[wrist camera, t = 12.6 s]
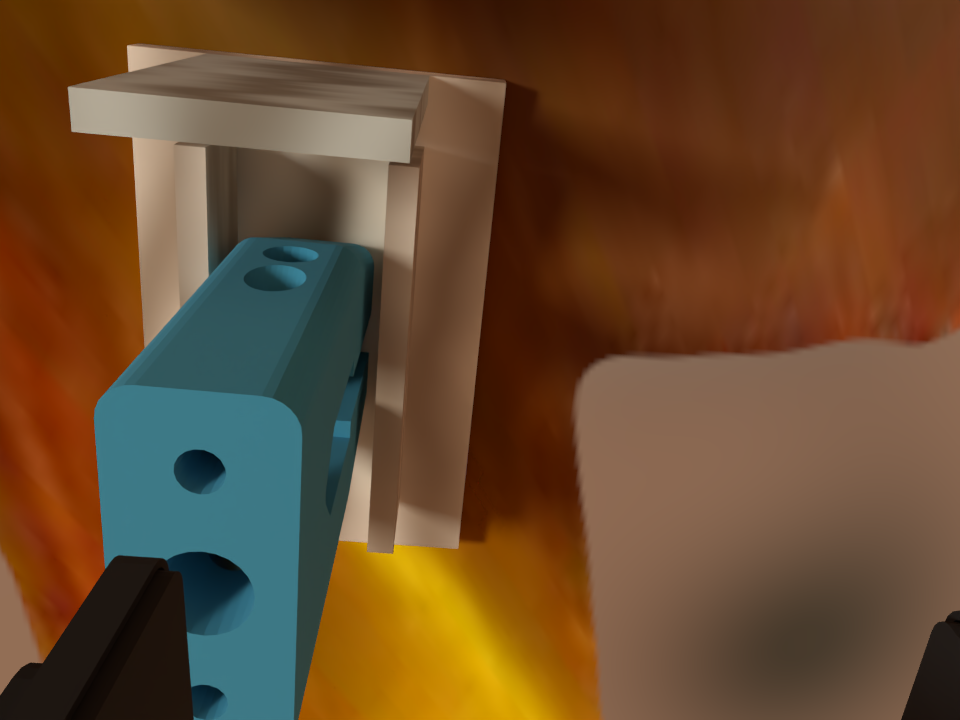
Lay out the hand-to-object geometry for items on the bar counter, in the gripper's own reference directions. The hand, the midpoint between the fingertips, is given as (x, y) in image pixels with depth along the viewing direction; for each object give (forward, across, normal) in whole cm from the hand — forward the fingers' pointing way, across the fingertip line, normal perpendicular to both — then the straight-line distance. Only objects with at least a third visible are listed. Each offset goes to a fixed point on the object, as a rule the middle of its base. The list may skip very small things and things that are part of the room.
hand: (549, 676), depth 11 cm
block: (+30, +8, +8) cm, 32 cm away
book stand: (+32, +9, +8) cm, 34 cm away
